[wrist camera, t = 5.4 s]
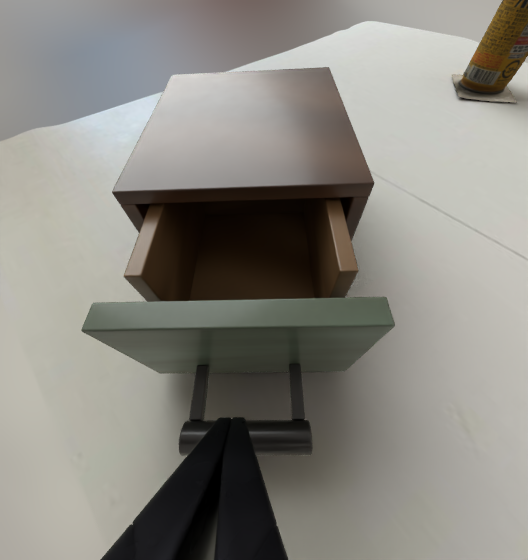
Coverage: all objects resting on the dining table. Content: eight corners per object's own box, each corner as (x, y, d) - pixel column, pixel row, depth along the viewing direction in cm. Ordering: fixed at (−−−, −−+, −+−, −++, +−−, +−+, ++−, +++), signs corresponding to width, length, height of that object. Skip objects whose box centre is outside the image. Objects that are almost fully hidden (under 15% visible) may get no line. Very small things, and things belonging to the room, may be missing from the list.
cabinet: (334, 284, 19) (375, 183, 11) (175, 288, 19) (110, 192, 12) (313, 171, 27) (329, 66, 19) (200, 176, 27) (171, 74, 20)
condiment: (502, 79, 38) (585, -51, 28) (515, 104, 33) (620, -41, 23) (450, 76, 39) (512, -50, 29) (456, 99, 35) (531, -39, 25)
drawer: (359, 452, 13) (441, 469, 6) (142, 452, 13) (21, 469, 7) (318, 215, 22) (334, 129, 16) (193, 219, 22) (161, 136, 16)
